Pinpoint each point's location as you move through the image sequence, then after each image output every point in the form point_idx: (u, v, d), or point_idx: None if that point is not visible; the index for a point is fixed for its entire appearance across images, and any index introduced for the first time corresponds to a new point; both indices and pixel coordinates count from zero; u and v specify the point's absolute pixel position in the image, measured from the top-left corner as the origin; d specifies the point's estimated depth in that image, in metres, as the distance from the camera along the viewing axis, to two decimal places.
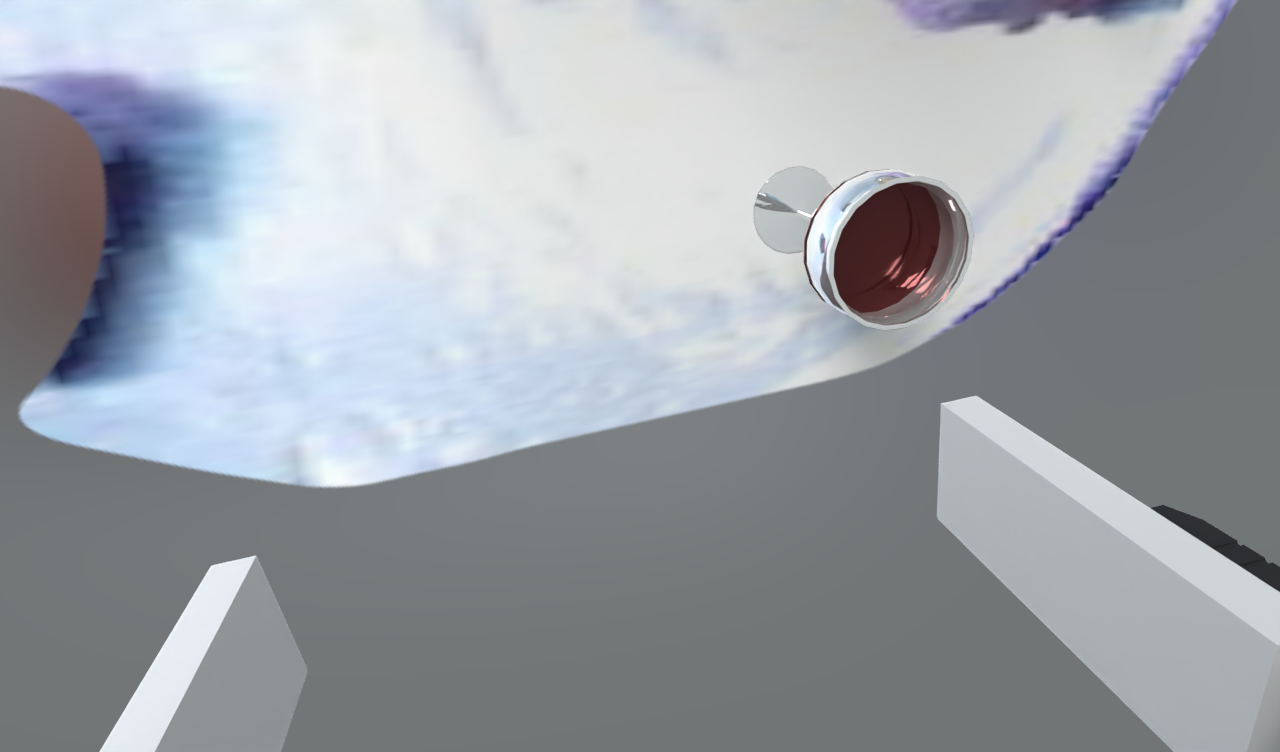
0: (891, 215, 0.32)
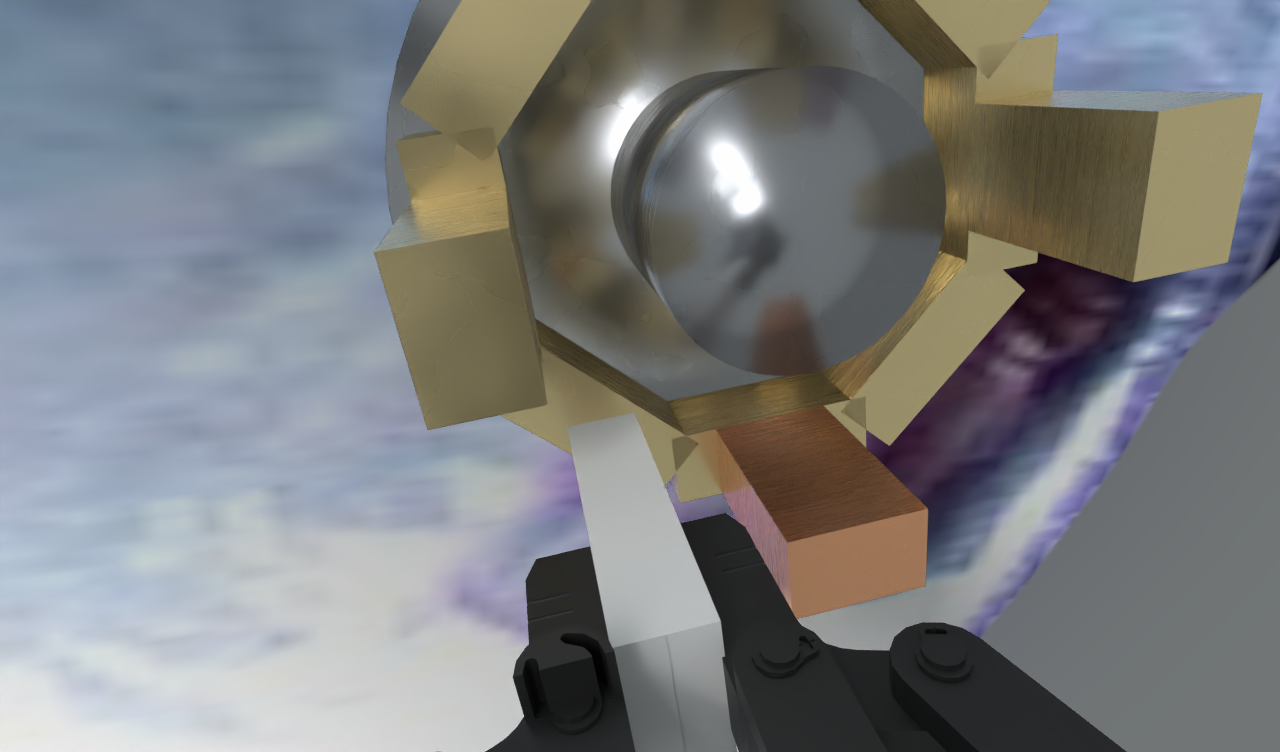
0: None
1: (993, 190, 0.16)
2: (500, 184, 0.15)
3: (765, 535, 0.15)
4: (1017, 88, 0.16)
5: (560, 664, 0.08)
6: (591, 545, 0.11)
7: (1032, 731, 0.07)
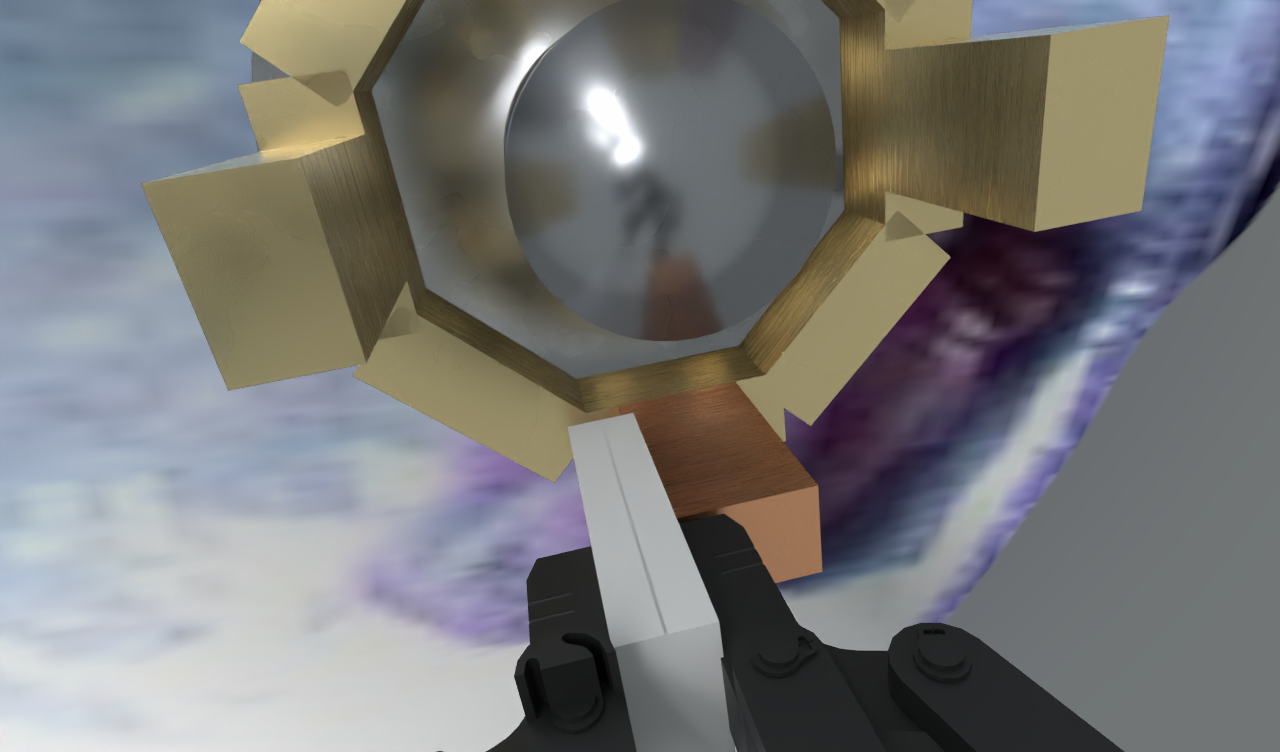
0: None
1: (905, 144, 0.15)
2: (359, 134, 0.14)
3: None
4: (931, 33, 0.15)
5: (561, 664, 0.08)
6: (592, 545, 0.11)
7: (1030, 731, 0.07)
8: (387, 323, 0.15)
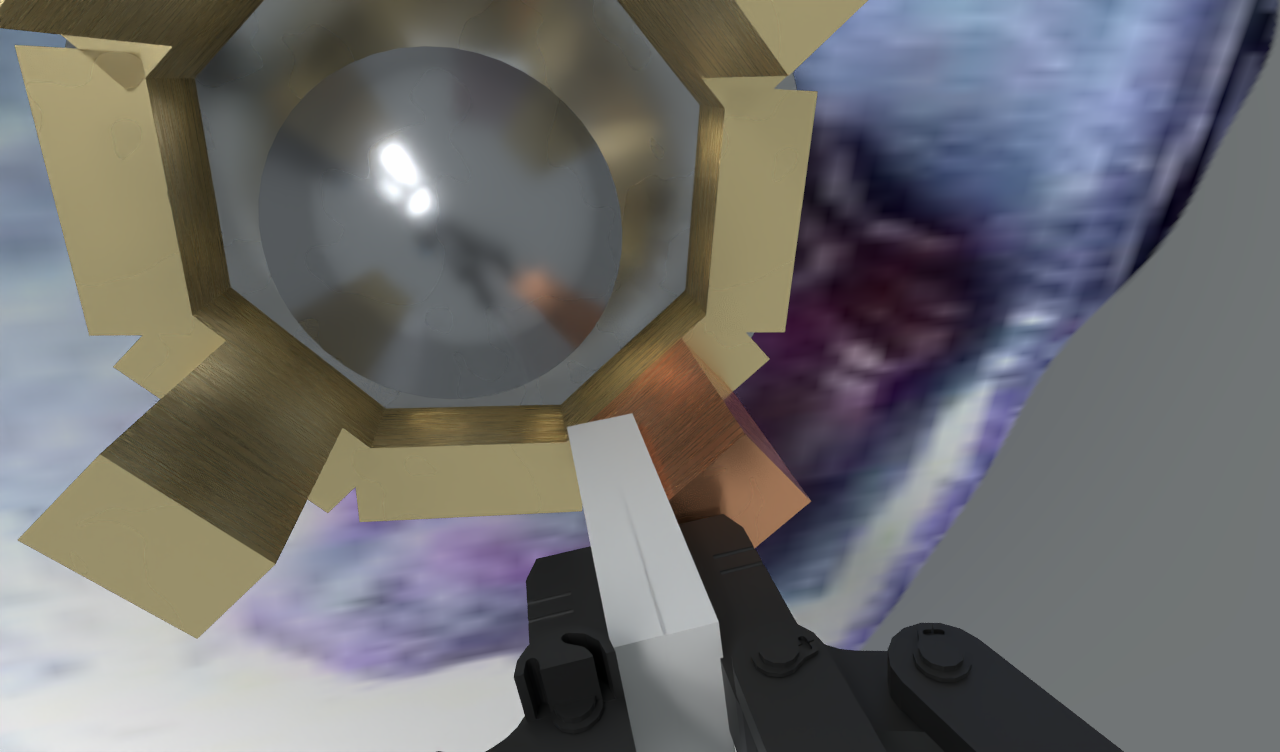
0: None
1: (675, 30, 0.13)
2: (222, 343, 0.15)
3: None
4: None
5: (561, 664, 0.08)
6: (591, 545, 0.11)
7: (1030, 732, 0.07)
8: (354, 468, 0.17)
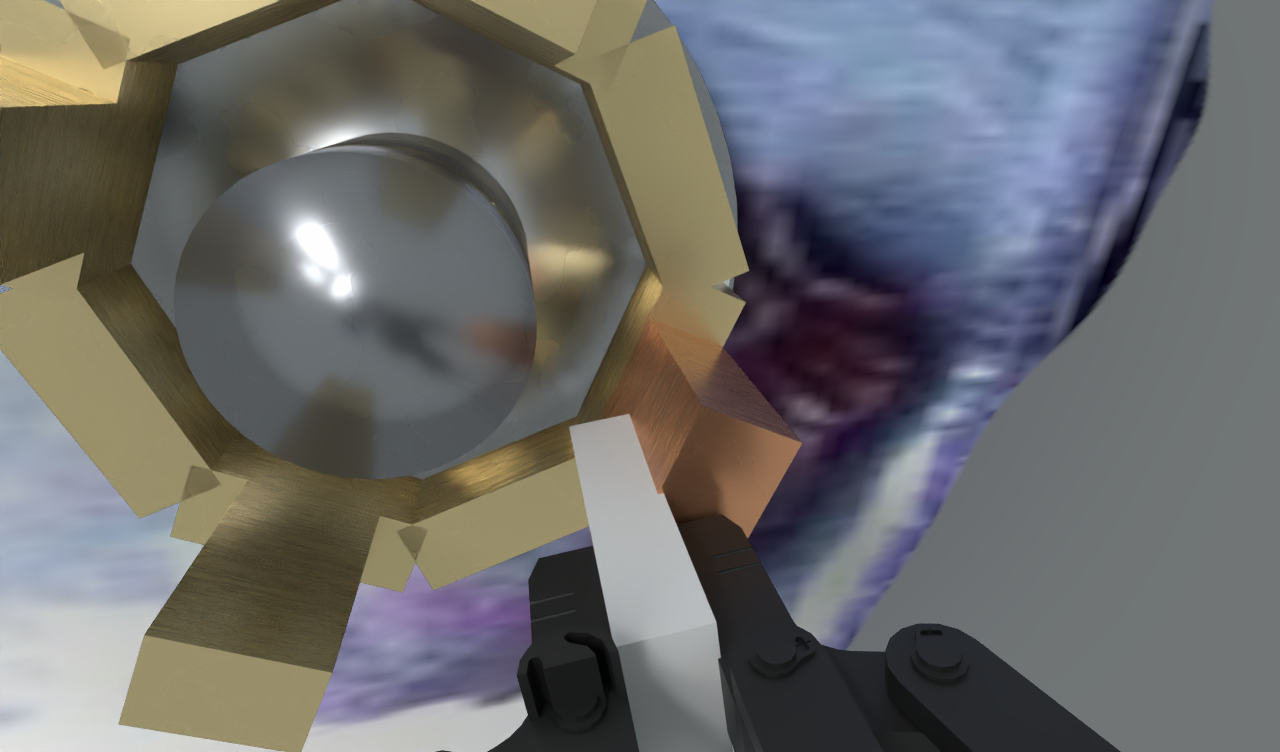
0: None
1: (499, 35, 0.13)
2: (246, 483, 0.16)
3: None
4: None
5: (564, 663, 0.08)
6: (594, 544, 0.11)
7: (1027, 732, 0.07)
8: (407, 546, 0.17)
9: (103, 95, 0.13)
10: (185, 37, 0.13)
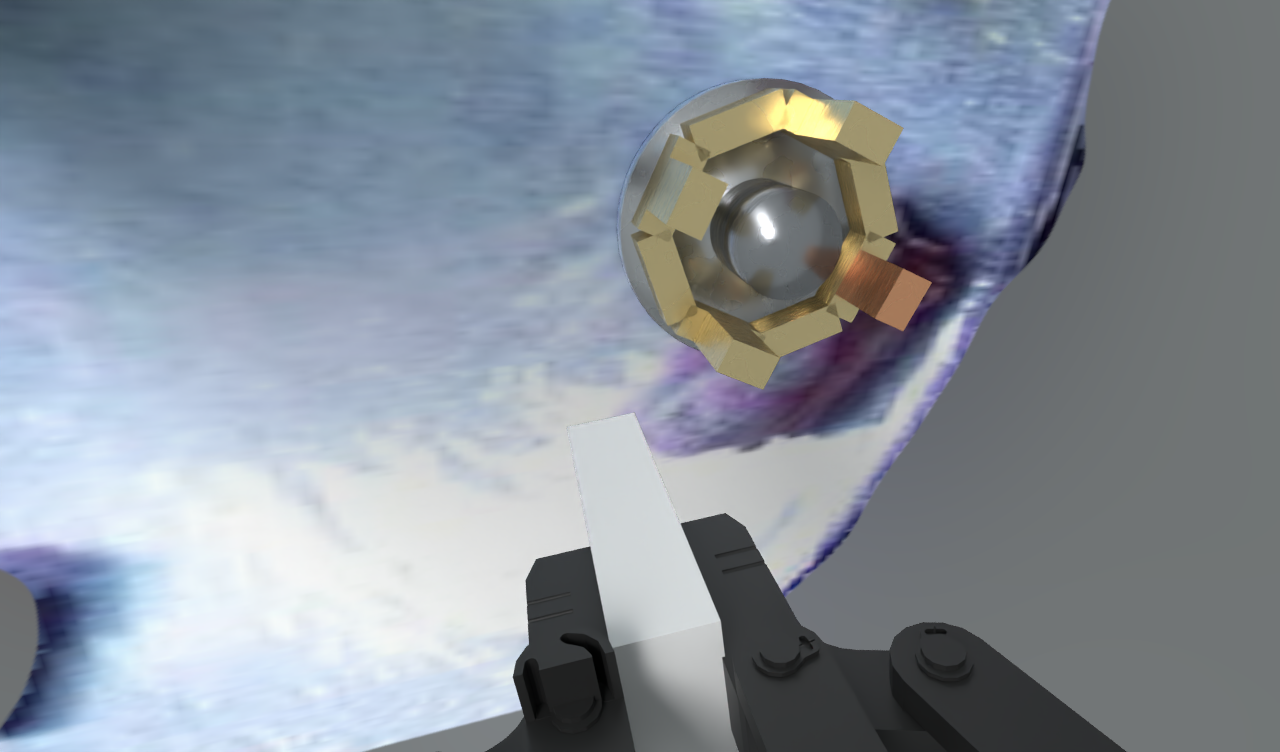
0: None
1: (829, 150, 0.39)
2: (706, 313, 0.42)
3: None
4: (802, 114, 0.39)
5: (560, 664, 0.08)
6: (591, 545, 0.11)
7: (1032, 731, 0.07)
8: None
9: (698, 170, 0.39)
10: None
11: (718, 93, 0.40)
